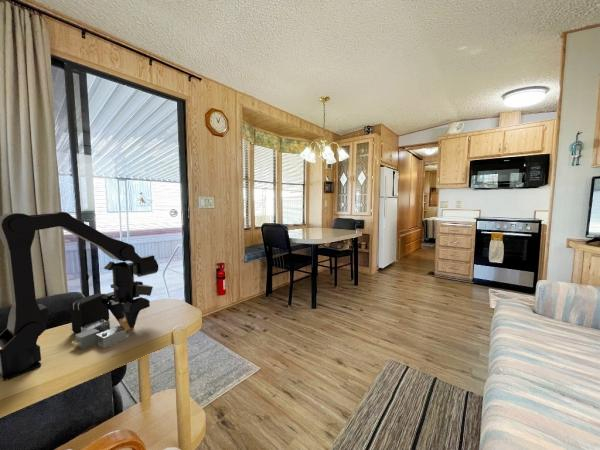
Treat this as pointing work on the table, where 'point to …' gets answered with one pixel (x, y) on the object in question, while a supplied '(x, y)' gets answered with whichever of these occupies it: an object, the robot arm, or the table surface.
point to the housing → (106, 333)
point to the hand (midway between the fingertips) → (126, 325)
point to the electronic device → (88, 311)
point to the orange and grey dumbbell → (93, 335)
